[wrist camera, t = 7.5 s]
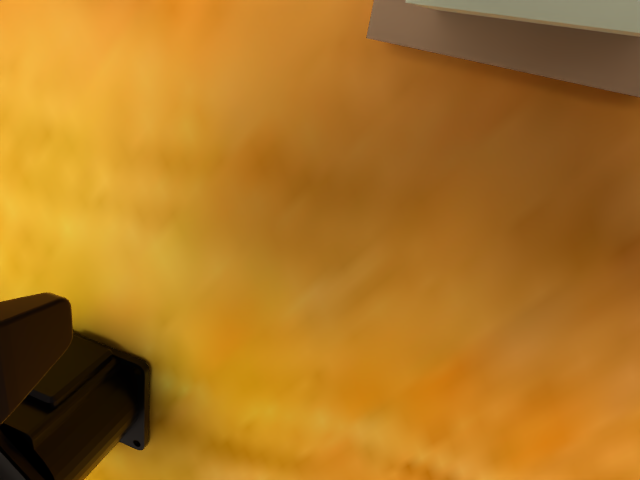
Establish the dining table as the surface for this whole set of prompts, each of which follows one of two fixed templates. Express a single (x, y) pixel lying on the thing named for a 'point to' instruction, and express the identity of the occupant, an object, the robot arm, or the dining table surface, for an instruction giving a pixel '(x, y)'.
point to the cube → (552, 12)
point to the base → (514, 44)
